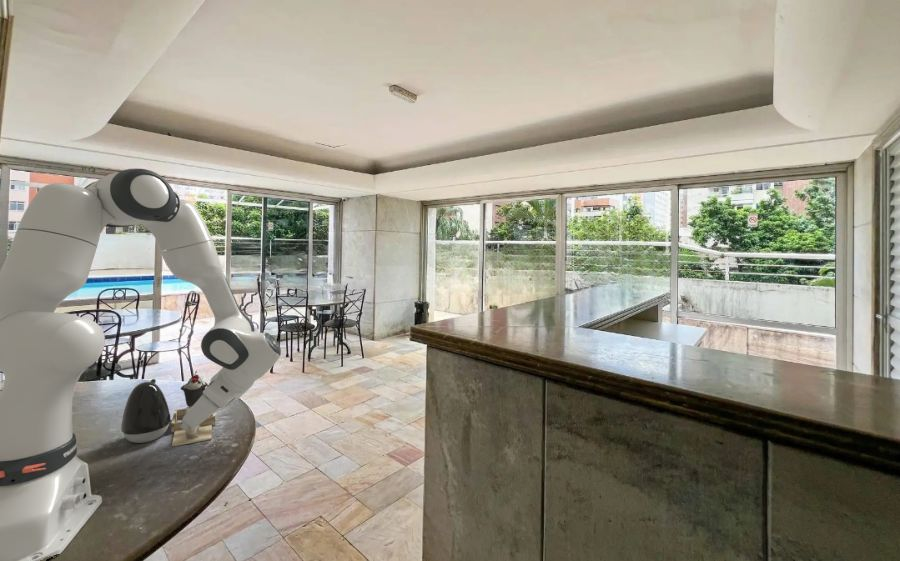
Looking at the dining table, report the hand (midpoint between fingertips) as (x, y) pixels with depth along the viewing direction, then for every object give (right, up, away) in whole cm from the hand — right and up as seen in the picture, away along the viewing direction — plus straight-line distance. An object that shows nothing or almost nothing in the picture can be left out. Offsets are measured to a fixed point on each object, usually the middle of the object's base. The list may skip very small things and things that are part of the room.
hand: (189, 421), depth 102 cm
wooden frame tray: (-3, -4, +6) cm, 8 cm away
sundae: (-6, -4, +12) cm, 14 cm away
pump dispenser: (-11, -5, 0) cm, 12 cm away
